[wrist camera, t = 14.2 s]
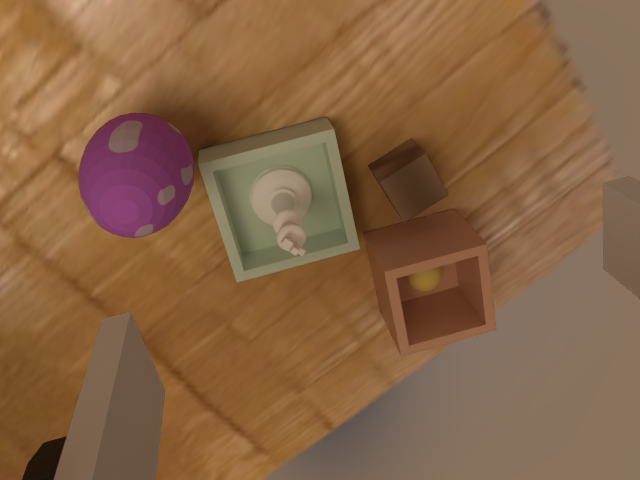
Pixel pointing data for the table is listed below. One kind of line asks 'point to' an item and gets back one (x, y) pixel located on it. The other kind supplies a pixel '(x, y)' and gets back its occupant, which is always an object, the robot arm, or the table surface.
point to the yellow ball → (425, 279)
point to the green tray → (258, 236)
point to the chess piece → (283, 204)
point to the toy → (136, 174)
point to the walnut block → (408, 179)
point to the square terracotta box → (451, 293)
